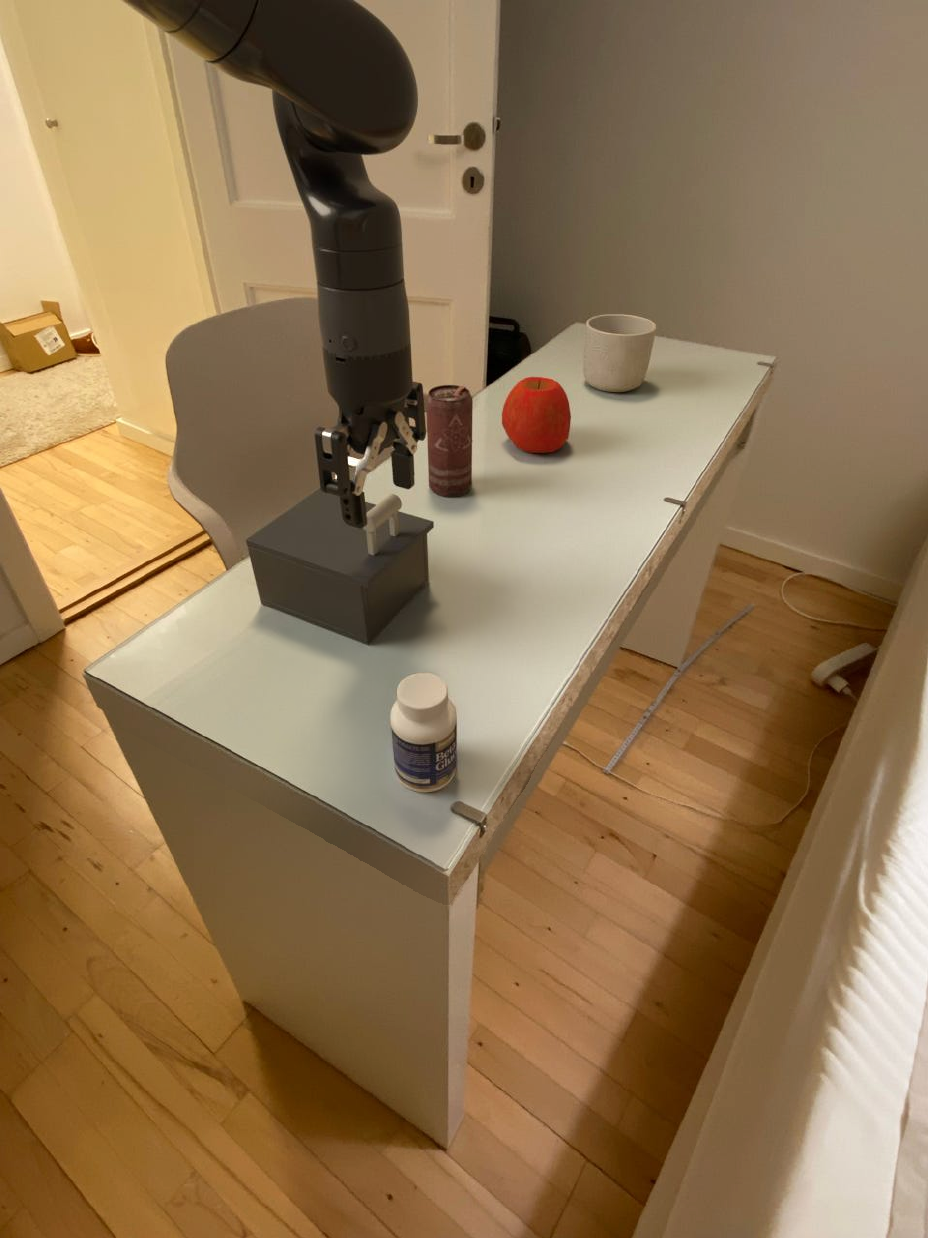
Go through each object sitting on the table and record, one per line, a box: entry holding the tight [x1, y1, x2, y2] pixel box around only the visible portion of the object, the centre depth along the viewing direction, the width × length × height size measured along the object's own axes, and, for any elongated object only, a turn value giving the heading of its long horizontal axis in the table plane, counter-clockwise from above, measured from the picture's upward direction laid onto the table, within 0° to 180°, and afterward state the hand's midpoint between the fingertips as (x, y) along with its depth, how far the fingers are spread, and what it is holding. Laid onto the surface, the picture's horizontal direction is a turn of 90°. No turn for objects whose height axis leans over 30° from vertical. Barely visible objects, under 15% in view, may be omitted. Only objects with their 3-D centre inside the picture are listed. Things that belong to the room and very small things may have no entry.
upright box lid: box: [245, 487, 435, 588], centre depth 72 cm, size 16×13×5 cm
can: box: [425, 384, 474, 498], centre depth 93 cm, size 6×6×14 cm
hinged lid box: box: [247, 533, 430, 646], centre depth 76 cm, size 15×13×8 cm
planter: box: [582, 313, 657, 393], centre depth 125 cm, size 12×12×11 cm
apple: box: [501, 376, 572, 454], centre depth 105 cm, size 11×11×11 cm
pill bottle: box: [389, 672, 458, 793], centre depth 56 cm, size 5×5×10 cm
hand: (381, 505), depth 68 cm, fingers open, 8 cm apart
